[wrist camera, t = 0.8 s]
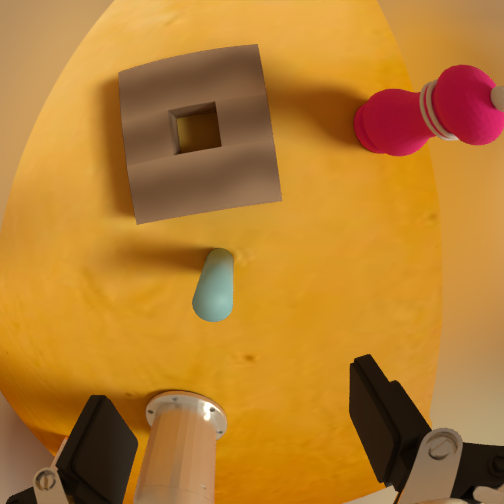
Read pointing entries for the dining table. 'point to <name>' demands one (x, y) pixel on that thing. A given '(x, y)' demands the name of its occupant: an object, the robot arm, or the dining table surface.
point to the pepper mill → (433, 113)
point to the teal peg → (215, 287)
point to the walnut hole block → (204, 161)
